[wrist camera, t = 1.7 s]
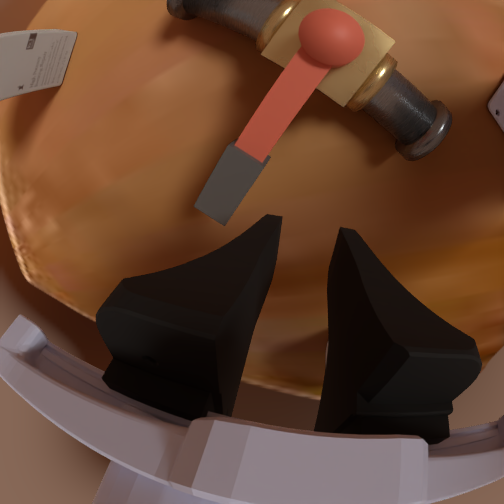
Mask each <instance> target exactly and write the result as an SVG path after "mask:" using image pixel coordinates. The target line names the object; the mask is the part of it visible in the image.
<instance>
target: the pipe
mask: <svg viewBox="0 0 504 504" xmlns="http://www.w3.org/2000/svg"><path fill="white" fill-rule="evenodd" d="M282 1H283V0H167V9H168V12H169V13H170V14H171V15H172V16H174V17H177V18H180V19H183V20H191V19H194V18H196V17H197V16H199V17H201V18H204V19H207V20H209V21H212V22H215V23H217V24H220V25H222V26H224V27H227V28H229V29H231V30H234V31H236V32H238V33H240V34H242V35H245V36H247V37H249V38H251V39H253V40H255V41H256V40H257V37H258V35H259V32H260V30H261V28H262V26H263V24H264V23H265V21H266V20H267V18H268V17H269V15H270V14H271V13H272V11H273V10H274V9H275V8H276V7H277V6H278V5H279V3H281V2H282ZM362 109H363V110H364V111H365V112H366V113H368V114H369V115H370V116H371V117H373V118H374V119H375V120H376V121H377V122H378V123H380V124H381V125H382V126H383V127H384V128H385V129H386V130H387V131H389V132H390V133H391V134H392V135H393V136H394V137H395V138H396V142H395V148H396V150H397V151H398V152H399V153H400V154H401V155H402V156H403V157H404V158H405V159H406V160H408V161H415V160H418V159H420V158H422V157H424V156H426V155H427V154H429V153H430V152H431V151H433V150H434V149H435V148H436V147H437V146H438V145H439V144H440V143H441V141H442V140H443V139H444V138H445V136H446V134H447V133H448V131H449V129H450V126H451V123H452V114H451V112H450V111H449V110H448V109H447V107H446V106H445V105H444V104H443V103H442V102H441V101H438V100H435V101H431V102H430V101H429V100H428V99H427V98H426V97H425V96H424V95H423V94H422V93H421V92H420V91H419V90H418V89H417V88H416V87H415V86H414V85H413V84H412V83H411V82H409V81H408V80H407V79H406V78H405V77H404V76H403V75H402V74H401V73H399V72H398V71H397V70H396V69H395V70H394V72H393V74H392V75H391V77H390V78H389V79H388V81H387V82H386V83H385V85H384V86H383V87H382V88H381V90H380V91H379V92H378V93H377V94H376V95H375V96H374V97H373V98H372V100H371V101H370V102H369V103H367V104H366V105H365V106H364V107H363V108H362Z"/></svg>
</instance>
